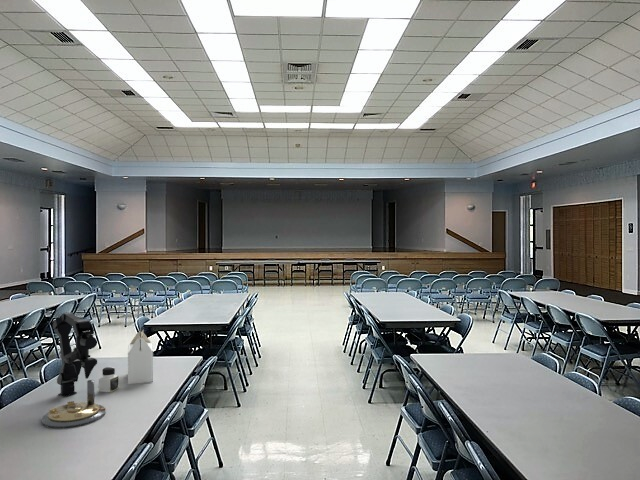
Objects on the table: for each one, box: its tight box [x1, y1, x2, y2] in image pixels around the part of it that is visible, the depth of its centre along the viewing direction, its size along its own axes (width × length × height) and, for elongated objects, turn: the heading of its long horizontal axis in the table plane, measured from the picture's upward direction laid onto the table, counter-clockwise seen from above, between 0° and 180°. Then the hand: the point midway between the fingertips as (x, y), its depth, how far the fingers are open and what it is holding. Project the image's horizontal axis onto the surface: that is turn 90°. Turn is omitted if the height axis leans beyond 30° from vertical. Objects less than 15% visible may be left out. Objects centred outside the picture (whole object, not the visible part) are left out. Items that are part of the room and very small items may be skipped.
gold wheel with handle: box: [47, 379, 100, 422], centre depth 222 cm, size 21×21×12 cm
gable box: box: [127, 327, 154, 385], centre depth 283 cm, size 22×13×28 cm, turn 20°
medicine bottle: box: [98, 366, 119, 393], centre depth 261 cm, size 7×7×12 cm
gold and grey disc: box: [41, 404, 106, 429], centre depth 223 cm, size 26×26×2 cm
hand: (82, 376), depth 241 cm, fingers open, 9 cm apart
